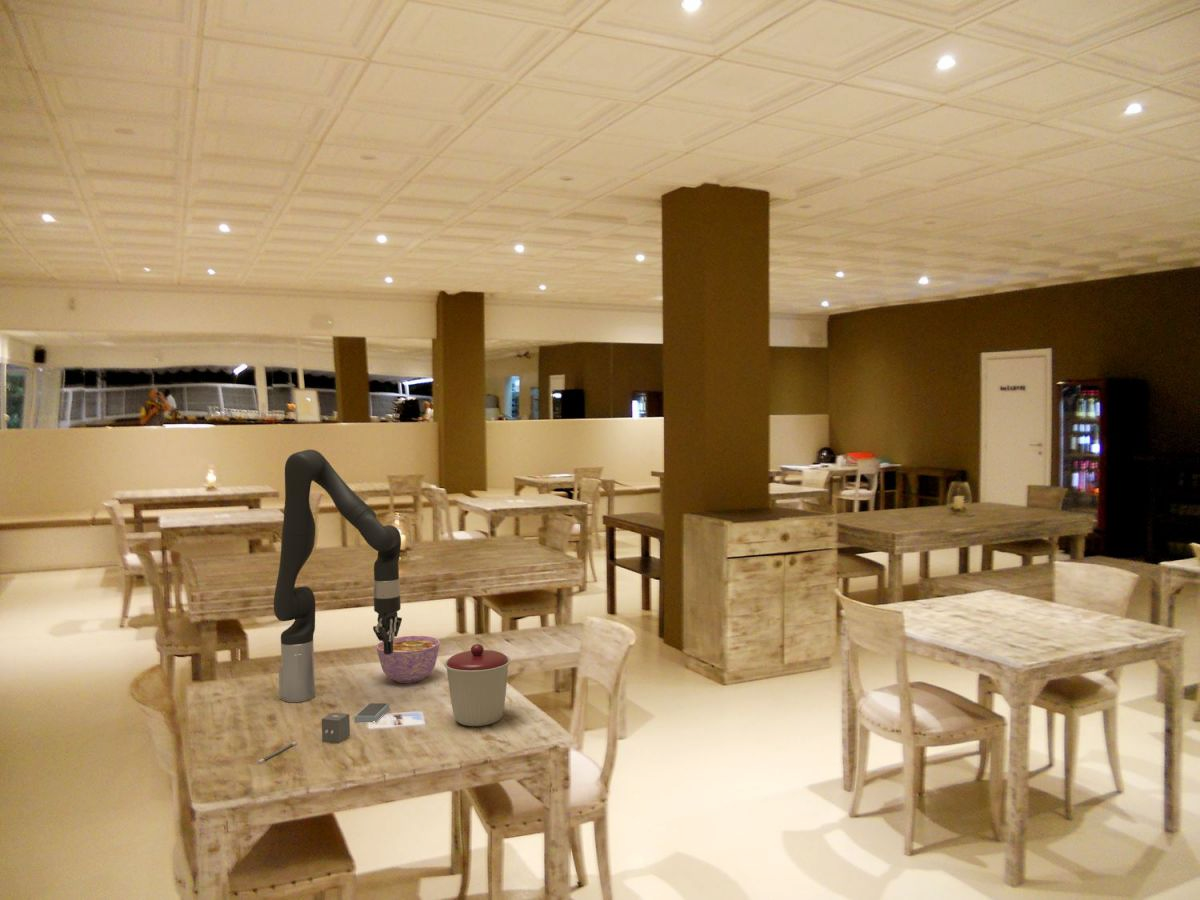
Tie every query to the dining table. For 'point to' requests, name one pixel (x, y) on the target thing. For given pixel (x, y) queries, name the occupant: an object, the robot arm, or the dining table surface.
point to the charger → (335, 727)
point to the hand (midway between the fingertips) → (388, 653)
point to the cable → (277, 752)
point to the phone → (372, 712)
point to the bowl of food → (409, 658)
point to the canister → (477, 685)
